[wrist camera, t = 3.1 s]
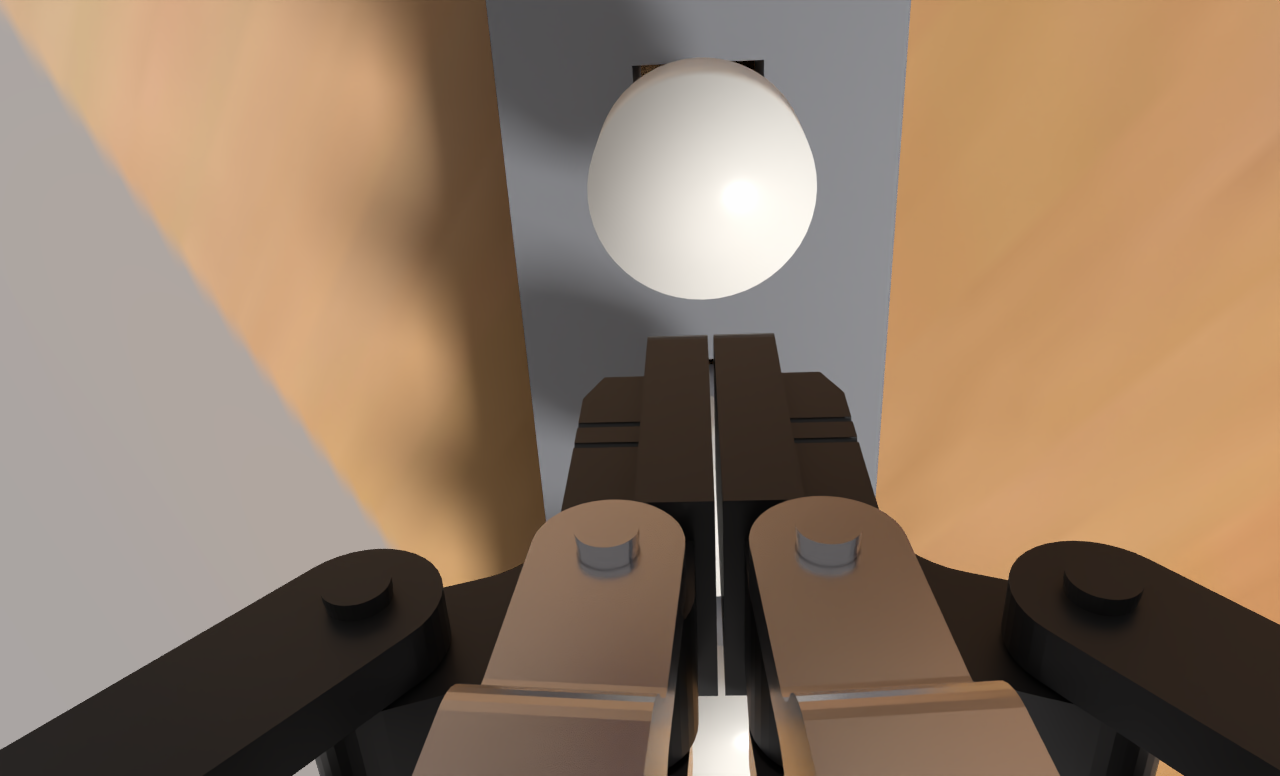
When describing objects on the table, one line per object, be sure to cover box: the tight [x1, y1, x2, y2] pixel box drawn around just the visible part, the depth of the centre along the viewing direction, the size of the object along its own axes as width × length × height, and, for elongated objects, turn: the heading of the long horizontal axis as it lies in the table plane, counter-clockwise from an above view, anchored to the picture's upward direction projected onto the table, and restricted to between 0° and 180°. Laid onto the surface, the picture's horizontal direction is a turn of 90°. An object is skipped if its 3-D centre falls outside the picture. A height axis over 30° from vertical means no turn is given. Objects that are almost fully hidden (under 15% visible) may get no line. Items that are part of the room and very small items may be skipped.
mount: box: [486, 0, 911, 522], centre depth 30 cm, size 10×26×4 cm, turn 3°
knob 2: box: [692, 596, 750, 776], centre depth 30 cm, size 5×5×6 cm
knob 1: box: [587, 57, 817, 300], centre depth 23 cm, size 5×5×6 cm
